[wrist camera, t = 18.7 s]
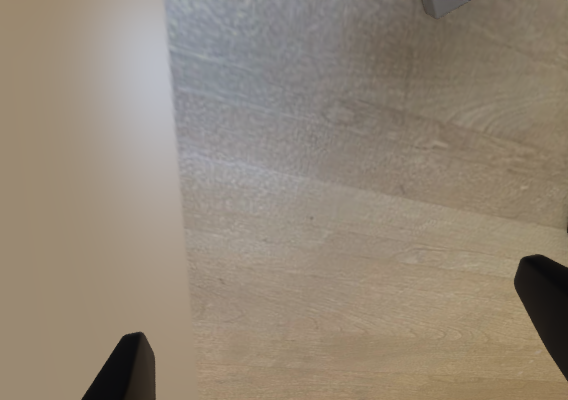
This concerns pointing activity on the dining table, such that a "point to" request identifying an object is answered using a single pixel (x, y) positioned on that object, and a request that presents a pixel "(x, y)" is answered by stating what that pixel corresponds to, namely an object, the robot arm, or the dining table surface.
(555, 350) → the robot arm
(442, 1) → the coffee maker
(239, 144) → the dining table surface
